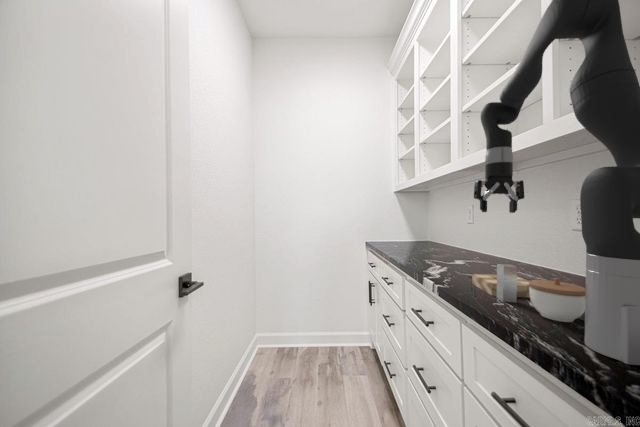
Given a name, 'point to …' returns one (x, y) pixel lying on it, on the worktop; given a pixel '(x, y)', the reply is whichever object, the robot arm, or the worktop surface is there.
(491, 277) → the well block
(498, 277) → the grey rectangular block
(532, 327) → the worktop surface
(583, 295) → the lidded jar
